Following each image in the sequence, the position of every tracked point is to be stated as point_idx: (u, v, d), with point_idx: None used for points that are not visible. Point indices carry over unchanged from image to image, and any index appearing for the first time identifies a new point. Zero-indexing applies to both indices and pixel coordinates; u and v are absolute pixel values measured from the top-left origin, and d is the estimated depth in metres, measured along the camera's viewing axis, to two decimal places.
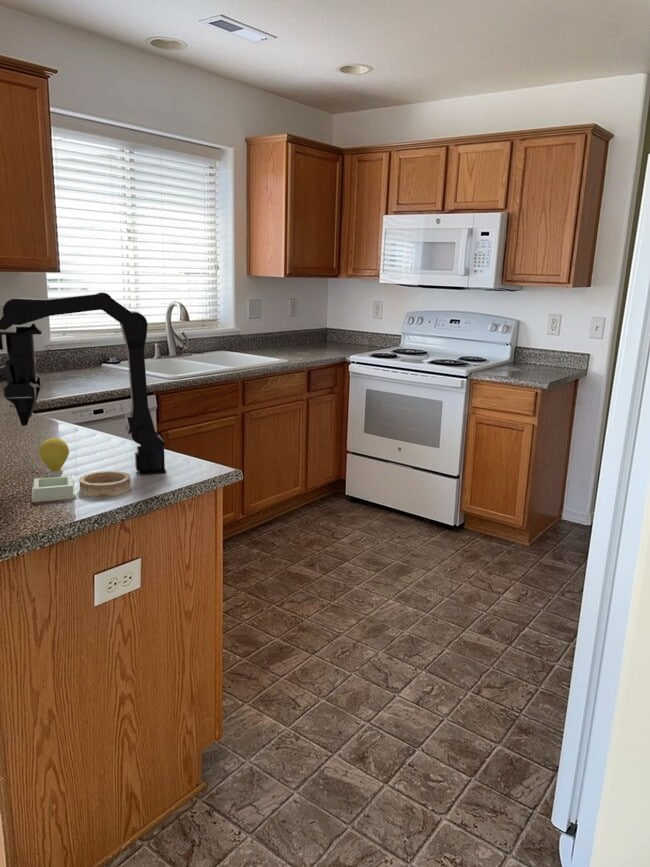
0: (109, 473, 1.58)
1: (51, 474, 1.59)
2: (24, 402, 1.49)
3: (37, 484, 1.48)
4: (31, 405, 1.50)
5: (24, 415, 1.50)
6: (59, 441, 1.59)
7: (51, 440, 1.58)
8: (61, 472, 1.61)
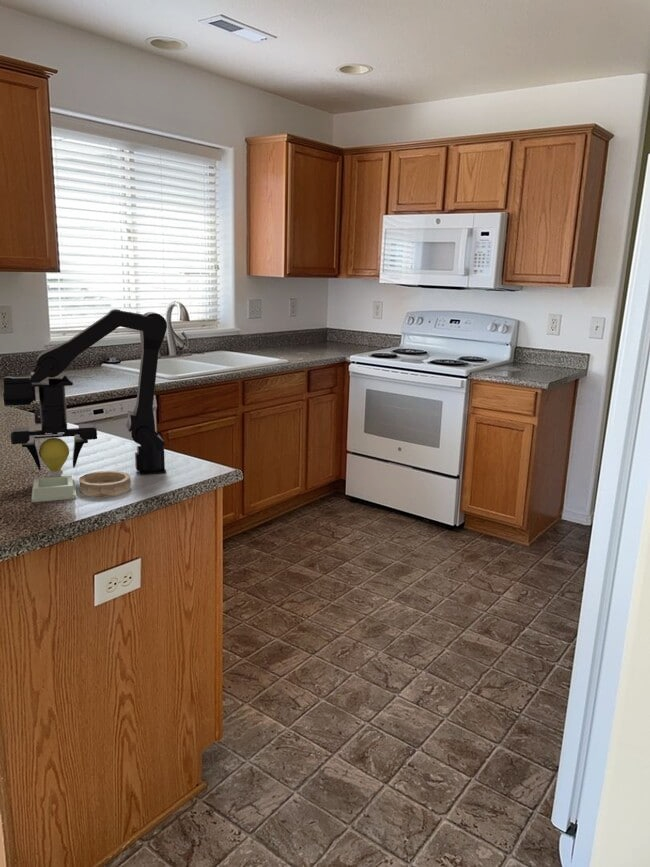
0: (109, 473, 1.58)
1: (51, 474, 1.59)
2: None
3: (37, 484, 1.48)
4: None
5: None
6: (60, 441, 1.59)
7: (51, 440, 1.58)
8: (61, 472, 1.61)
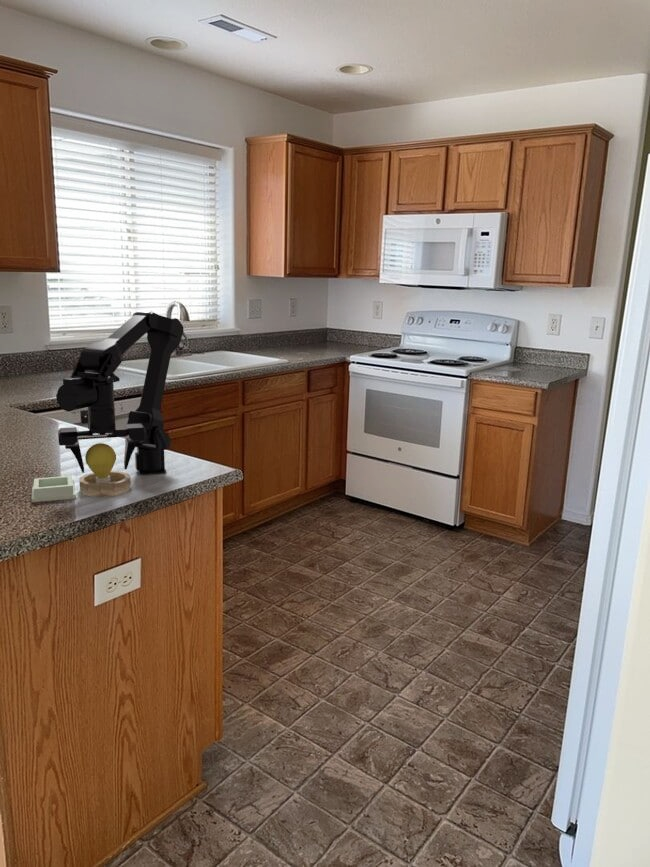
0: (109, 473, 1.58)
1: (99, 481, 1.52)
2: None
3: (37, 484, 1.48)
4: None
5: None
6: (106, 446, 1.52)
7: (97, 445, 1.51)
8: (109, 478, 1.53)
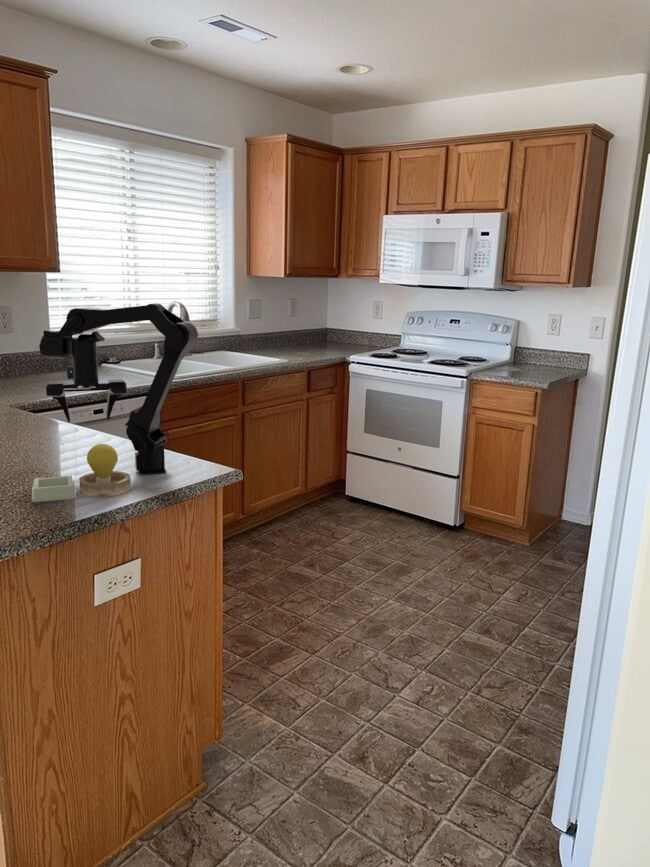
0: None
1: (99, 481, 1.52)
2: None
3: (37, 484, 1.48)
4: None
5: None
6: (108, 446, 1.52)
7: (100, 446, 1.51)
8: (109, 479, 1.53)
